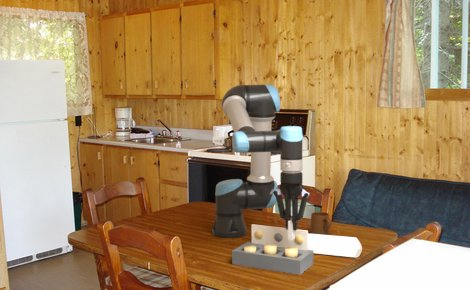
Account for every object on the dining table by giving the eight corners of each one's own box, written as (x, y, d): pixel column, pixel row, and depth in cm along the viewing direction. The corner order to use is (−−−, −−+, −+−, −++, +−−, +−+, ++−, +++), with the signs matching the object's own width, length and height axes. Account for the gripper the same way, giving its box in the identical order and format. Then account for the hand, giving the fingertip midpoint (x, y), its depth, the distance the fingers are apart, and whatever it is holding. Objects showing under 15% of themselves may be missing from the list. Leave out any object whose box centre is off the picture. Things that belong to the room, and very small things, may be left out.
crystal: (295, 244, 204) (359, 250, 195) (299, 231, 209) (362, 236, 201) (298, 258, 208) (361, 264, 199) (301, 244, 213) (363, 250, 205)
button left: (242, 258, 194) (241, 247, 193) (247, 255, 197) (247, 244, 197) (253, 260, 192) (252, 249, 191) (258, 257, 195) (258, 246, 195)
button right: (283, 260, 186) (283, 249, 186) (287, 257, 190) (287, 246, 189) (295, 262, 184) (294, 251, 183) (299, 259, 188) (299, 247, 187)
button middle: (262, 257, 190) (262, 246, 189) (267, 254, 194) (267, 243, 193) (273, 259, 188) (273, 248, 187) (278, 256, 192) (278, 245, 191)
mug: (337, 239, 224) (338, 217, 223) (322, 241, 222) (322, 218, 221) (323, 232, 235) (323, 211, 235) (307, 234, 233) (307, 212, 232)
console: (232, 264, 193) (231, 231, 192) (248, 254, 204) (248, 223, 203) (300, 275, 181) (300, 240, 180) (313, 264, 192) (313, 231, 191)
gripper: (269, 171, 184) (269, 239, 186) (305, 173, 177) (305, 244, 179) (278, 169, 190) (278, 234, 192) (313, 171, 184) (313, 238, 186)
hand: (291, 239), depth 186 cm, fingers closed
